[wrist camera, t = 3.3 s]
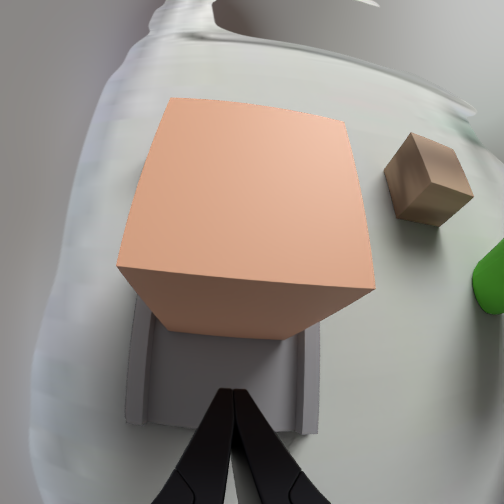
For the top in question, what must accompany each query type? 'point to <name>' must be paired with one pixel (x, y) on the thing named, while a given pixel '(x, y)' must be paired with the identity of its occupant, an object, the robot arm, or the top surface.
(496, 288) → the cup
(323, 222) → the terracotta block
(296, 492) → the robot arm
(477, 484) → the top surface
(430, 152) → the walnut block
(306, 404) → the track
